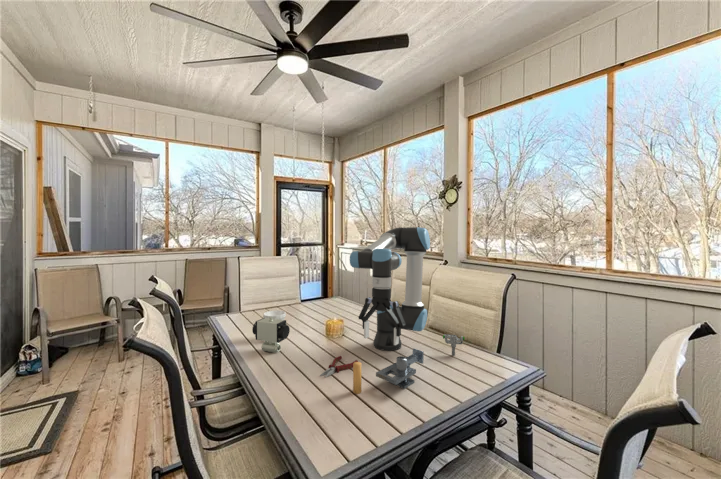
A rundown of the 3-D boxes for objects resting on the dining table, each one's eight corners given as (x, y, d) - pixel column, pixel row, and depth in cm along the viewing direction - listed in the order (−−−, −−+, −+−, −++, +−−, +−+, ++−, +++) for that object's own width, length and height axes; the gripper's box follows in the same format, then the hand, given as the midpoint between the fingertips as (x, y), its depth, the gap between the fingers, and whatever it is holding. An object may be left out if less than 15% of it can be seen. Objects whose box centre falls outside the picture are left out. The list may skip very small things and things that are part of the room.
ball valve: (291, 350, 162) (291, 316, 161) (282, 356, 154) (282, 321, 153) (262, 346, 168) (262, 313, 167) (252, 351, 160) (251, 317, 159)
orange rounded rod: (351, 391, 121) (351, 363, 120) (357, 388, 123) (357, 361, 123) (357, 394, 119) (357, 366, 118) (363, 391, 121) (363, 363, 121)
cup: (258, 341, 174) (258, 314, 174) (272, 334, 186) (272, 309, 185) (276, 344, 170) (276, 317, 169) (290, 337, 181) (290, 311, 181)
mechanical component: (464, 357, 154) (464, 337, 154) (443, 355, 156) (443, 335, 156) (463, 355, 157) (463, 335, 157) (442, 353, 159) (442, 334, 159)
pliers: (312, 375, 135) (312, 369, 135) (339, 359, 152) (339, 354, 152) (333, 382, 129) (333, 376, 129) (359, 365, 146) (359, 359, 146)
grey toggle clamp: (375, 387, 124) (375, 362, 124) (409, 369, 141) (409, 347, 140) (395, 396, 117) (396, 370, 117) (428, 376, 134) (428, 353, 134)
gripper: (350, 285, 127) (349, 337, 127) (406, 292, 113) (405, 350, 113) (360, 283, 133) (360, 332, 133) (414, 289, 119) (413, 344, 120)
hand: (380, 340), depth 123 cm, fingers open, 13 cm apart
